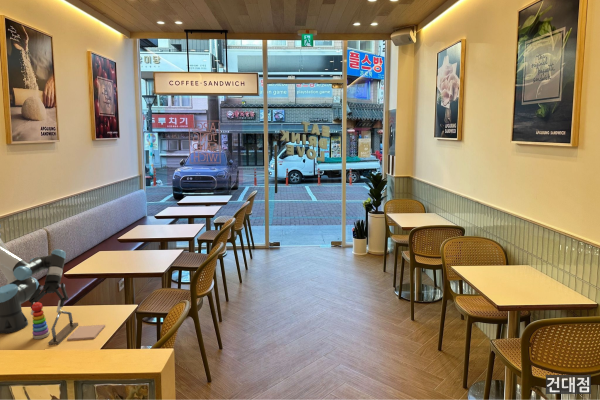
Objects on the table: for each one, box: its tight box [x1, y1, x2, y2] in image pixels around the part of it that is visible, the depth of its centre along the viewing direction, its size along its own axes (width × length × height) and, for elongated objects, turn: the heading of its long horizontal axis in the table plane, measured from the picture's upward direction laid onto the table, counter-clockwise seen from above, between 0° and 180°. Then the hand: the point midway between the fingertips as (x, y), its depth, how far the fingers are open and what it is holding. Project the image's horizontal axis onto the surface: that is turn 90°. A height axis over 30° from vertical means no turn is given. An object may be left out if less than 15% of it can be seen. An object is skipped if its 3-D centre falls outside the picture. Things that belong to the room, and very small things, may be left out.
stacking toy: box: [31, 301, 50, 340], centre depth 244 cm, size 8×8×19 cm
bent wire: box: [47, 309, 79, 346], centre depth 244 cm, size 22×5×14 cm, turn 1°
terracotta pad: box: [66, 324, 106, 341], centre depth 246 cm, size 14×14×1 cm
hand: (45, 313), depth 246 cm, fingers open, 13 cm apart
